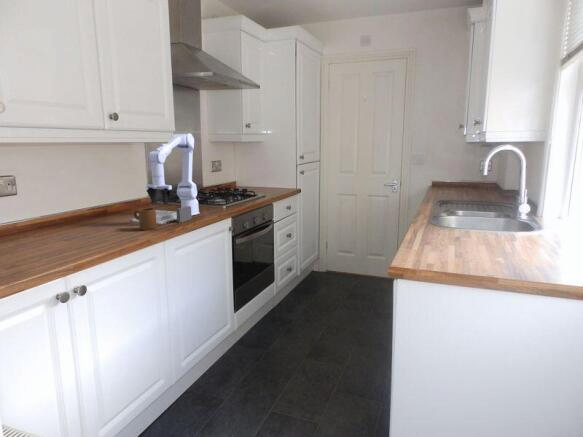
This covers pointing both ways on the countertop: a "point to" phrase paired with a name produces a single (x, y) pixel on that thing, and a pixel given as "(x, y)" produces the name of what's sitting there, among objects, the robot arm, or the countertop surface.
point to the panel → (183, 214)
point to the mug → (146, 218)
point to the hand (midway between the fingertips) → (160, 203)
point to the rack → (163, 216)
